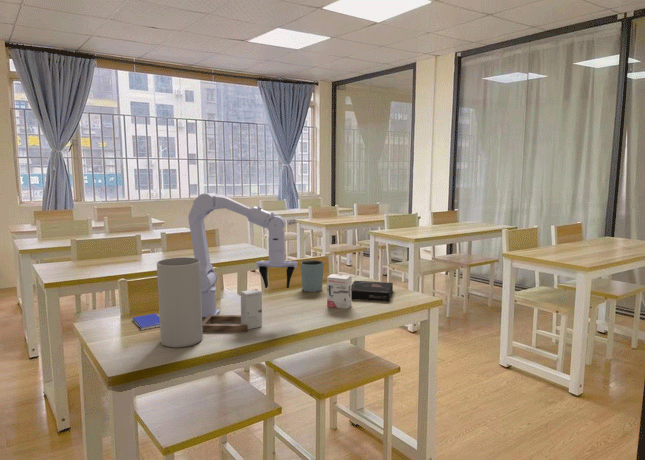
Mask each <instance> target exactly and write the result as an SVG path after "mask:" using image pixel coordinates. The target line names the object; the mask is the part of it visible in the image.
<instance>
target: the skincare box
mask: <svg viewBox="0 0 645 460" xmlns="http://www.w3.org/2000/svg"><path fill="white" fill-rule="evenodd" d="M262 293H263V292H262V291H261V290H258V289H247V290H241V291H240V315H241V322H240V324H242V325H248V330H250V329H255V328H256V329H257V328H260V327H262V326H263V312H262V311H263V307H262V306H263V305H262V304H263V299H262V298H263V294H262Z"/></svg>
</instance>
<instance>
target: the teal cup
mask: <svg viewBox="0 0 645 460" xmlns="http://www.w3.org/2000/svg"><path fill="white" fill-rule="evenodd" d="M324 268H325V261H322V260H315V259H314V260H310V259H308V260H304V261H301V262H300V271H301V274H300V275H301V285H302V286H301V287H302V288H301V289H302V291H303V290H304V292H306V291H308V292H307V293H317V292H316V291H318V292H321V291H322V290H323V281H324V279H323V278H324ZM320 290H321V291H320Z"/></svg>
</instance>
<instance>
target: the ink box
mask: <svg viewBox="0 0 645 460" xmlns="http://www.w3.org/2000/svg"><path fill="white" fill-rule="evenodd" d="M351 285H352V276H351V275H345V274H336V273H332V274H329V275H328V276H327V277H326V306H327V307H329V308H336V309H337V308H338V309H346V310H347V309H349V308H350V307H352V299H351Z"/></svg>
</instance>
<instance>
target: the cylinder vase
mask: <svg viewBox="0 0 645 460" xmlns="http://www.w3.org/2000/svg"><path fill="white" fill-rule="evenodd" d="M156 275H157V276H156V277H157V292H158V313H159V314H158V316H159V317H160V327H159V333H160V342H161V344H162V345H163V346H165V347H168V348H175V349H176V348H186V347H190V346H194V345H196V344H199V343H200V342H201V341H202V340H203V337H204V335H203V334H204V333H203V332H204V331H203V328H202V322H203V317H202V301H201V275H200V260H199V259H196V258H194V257H183V256H182V257H172V258H171V257H170V258H165V259H161V260H158V261H156Z"/></svg>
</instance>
